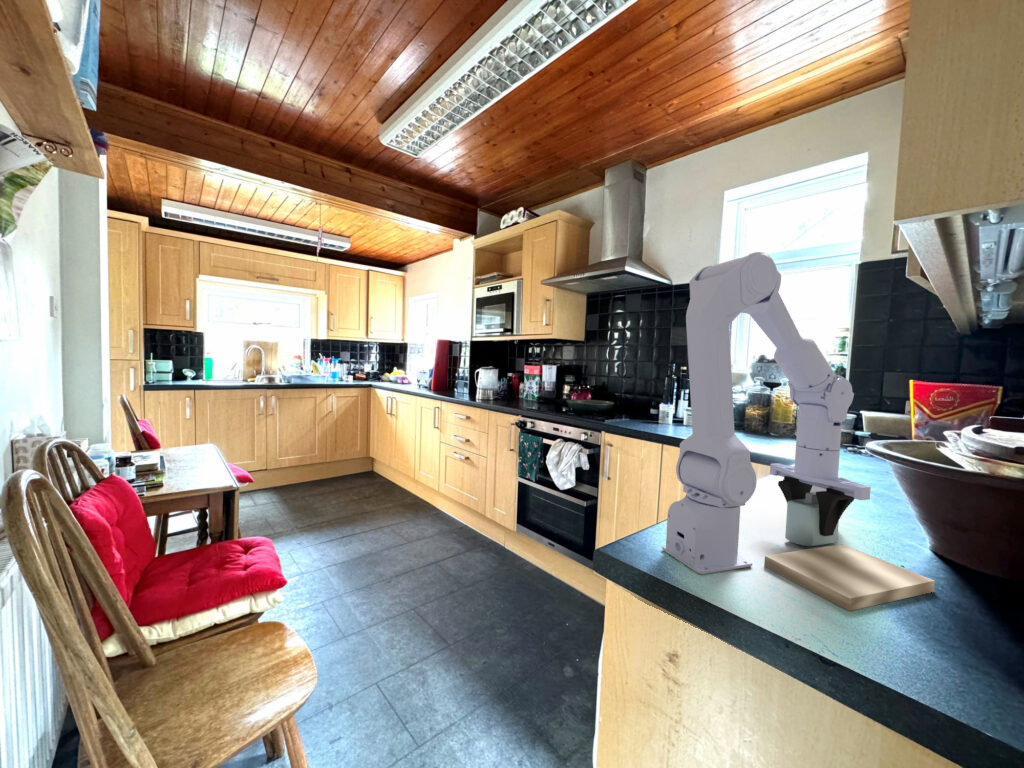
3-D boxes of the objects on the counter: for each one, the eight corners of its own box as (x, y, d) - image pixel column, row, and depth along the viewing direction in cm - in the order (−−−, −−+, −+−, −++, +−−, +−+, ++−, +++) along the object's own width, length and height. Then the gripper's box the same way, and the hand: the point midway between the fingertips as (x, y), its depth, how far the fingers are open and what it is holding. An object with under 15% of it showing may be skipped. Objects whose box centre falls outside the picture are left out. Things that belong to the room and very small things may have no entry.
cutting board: (848, 610, 47) (849, 598, 47) (764, 565, 57) (764, 555, 57) (933, 591, 52) (934, 580, 52) (841, 553, 62) (842, 544, 62)
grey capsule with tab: (803, 547, 62) (806, 499, 62) (779, 536, 66) (782, 491, 66) (843, 541, 65) (846, 495, 65) (818, 531, 69) (821, 488, 69)
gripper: (886, 456, 59) (880, 545, 60) (792, 438, 73) (787, 511, 74) (854, 458, 57) (847, 550, 58) (763, 439, 71) (758, 514, 72)
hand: (811, 529), depth 66 cm, fingers closed on grey capsule with tab, 4 cm apart
